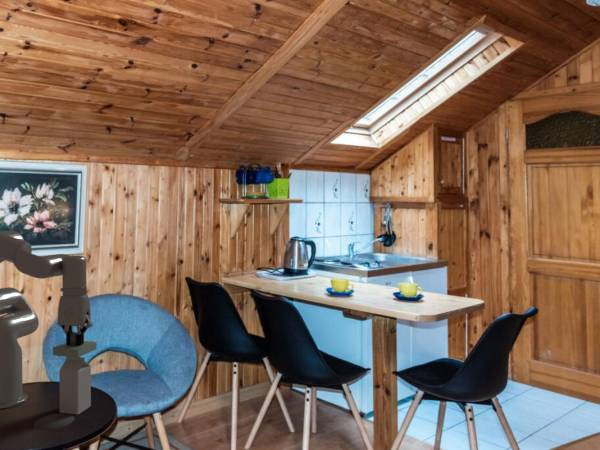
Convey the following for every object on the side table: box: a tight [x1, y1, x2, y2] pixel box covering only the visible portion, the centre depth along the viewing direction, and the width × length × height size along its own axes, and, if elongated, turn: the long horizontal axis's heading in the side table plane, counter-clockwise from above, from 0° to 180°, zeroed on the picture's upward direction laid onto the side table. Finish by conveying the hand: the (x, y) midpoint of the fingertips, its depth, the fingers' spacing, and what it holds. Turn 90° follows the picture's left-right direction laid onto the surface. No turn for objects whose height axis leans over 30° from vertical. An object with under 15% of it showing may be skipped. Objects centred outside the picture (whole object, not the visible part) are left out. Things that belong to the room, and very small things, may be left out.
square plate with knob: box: [52, 331, 98, 358], centre depth 167 cm, size 10×10×7 cm
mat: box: [33, 412, 75, 431], centre depth 159 cm, size 12×12×1 cm
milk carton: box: [58, 356, 92, 415], centre depth 168 cm, size 7×7×19 cm
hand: (75, 344), depth 167 cm, fingers closed on square plate with knob, 3 cm apart
